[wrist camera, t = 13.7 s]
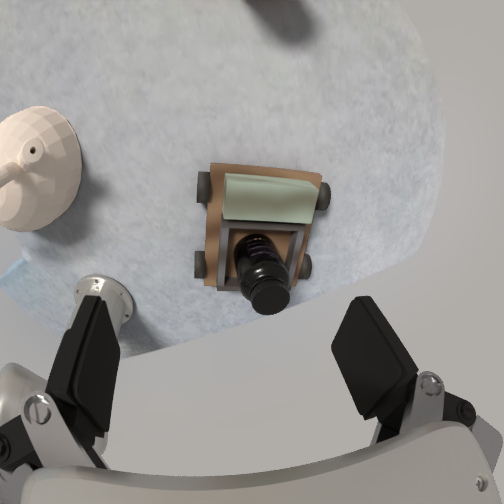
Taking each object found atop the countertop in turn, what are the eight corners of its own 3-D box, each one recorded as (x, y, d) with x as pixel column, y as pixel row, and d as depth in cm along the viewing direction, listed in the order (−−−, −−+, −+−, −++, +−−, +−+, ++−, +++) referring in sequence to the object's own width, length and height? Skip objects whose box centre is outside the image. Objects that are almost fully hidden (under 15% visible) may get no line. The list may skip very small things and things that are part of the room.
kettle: (105, 186, 36) (52, 245, 21) (29, 239, 38) (-21, 301, 22) (55, 79, 25) (-23, 83, 10) (-17, 152, 27) (-82, 189, 11)
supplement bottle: (272, 269, 45) (291, 320, 35) (230, 269, 44) (240, 323, 34) (279, 232, 42) (303, 279, 32) (234, 230, 40) (245, 279, 30)
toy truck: (298, 275, 51) (311, 300, 45) (194, 274, 47) (194, 301, 41) (323, 171, 41) (343, 186, 35) (199, 159, 37) (198, 172, 31)
